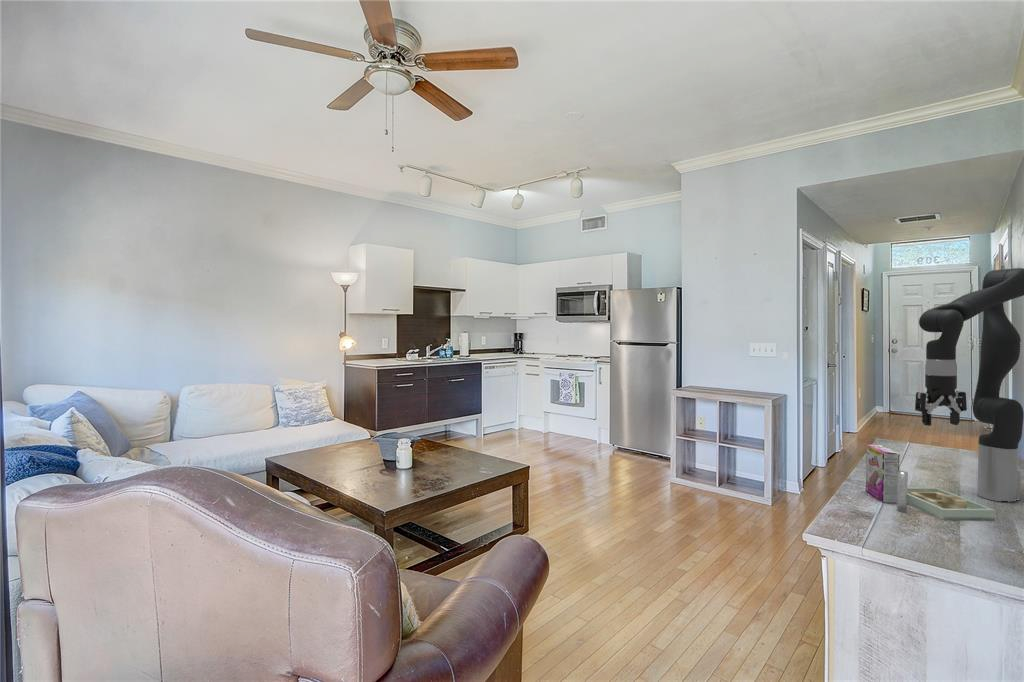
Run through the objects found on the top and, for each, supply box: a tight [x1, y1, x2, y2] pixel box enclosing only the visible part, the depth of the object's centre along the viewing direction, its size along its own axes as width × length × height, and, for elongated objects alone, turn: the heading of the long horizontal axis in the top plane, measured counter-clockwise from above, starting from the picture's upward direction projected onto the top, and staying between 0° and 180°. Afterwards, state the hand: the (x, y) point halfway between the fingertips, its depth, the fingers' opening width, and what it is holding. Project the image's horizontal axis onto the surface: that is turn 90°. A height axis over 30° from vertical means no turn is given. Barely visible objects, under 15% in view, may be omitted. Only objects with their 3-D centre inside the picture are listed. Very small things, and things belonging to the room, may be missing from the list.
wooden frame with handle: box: [909, 492, 967, 509], centre depth 153 cm, size 14×9×4 cm, turn 179°
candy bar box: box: [865, 444, 900, 504], centre depth 162 cm, size 11×5×16 cm, turn 168°
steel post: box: [896, 470, 909, 513], centre depth 150 cm, size 2×2×12 cm
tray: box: [907, 487, 996, 521], centre depth 153 cm, size 15×20×3 cm
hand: (940, 424), depth 154 cm, fingers open, 8 cm apart
